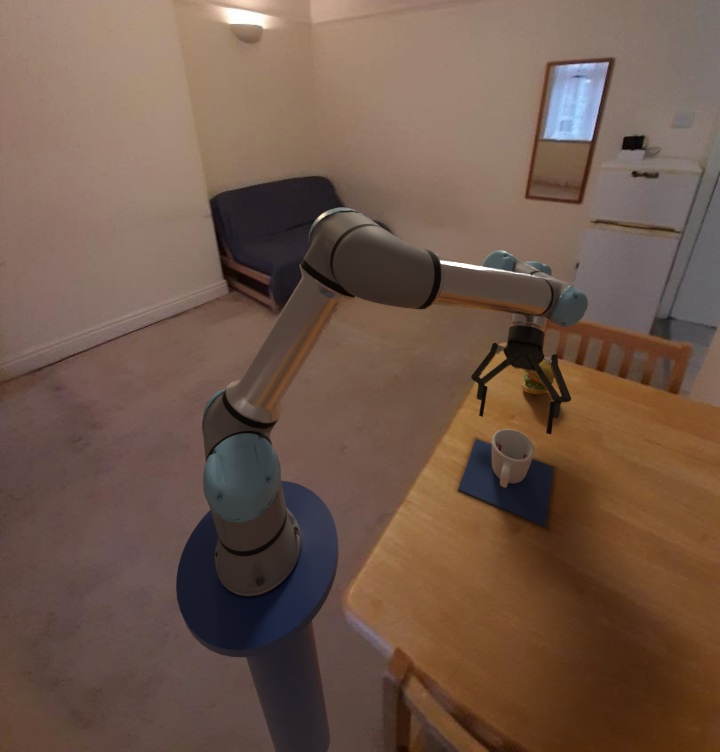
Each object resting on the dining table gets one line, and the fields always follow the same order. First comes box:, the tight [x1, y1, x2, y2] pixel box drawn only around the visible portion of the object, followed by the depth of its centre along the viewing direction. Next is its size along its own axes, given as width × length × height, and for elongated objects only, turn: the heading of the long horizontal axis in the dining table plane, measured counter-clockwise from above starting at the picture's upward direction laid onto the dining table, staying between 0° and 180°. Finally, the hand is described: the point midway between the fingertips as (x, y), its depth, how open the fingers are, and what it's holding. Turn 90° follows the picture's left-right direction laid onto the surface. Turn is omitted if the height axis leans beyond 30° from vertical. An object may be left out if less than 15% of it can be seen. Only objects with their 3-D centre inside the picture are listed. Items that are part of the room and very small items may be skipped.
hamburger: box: [521, 360, 555, 395], centre depth 101 cm, size 8×7×12 cm
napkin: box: [457, 438, 554, 528], centre depth 82 cm, size 16×14×1 cm
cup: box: [491, 428, 536, 488], centre depth 80 cm, size 11×8×8 cm
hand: (513, 425), depth 86 cm, fingers open, 13 cm apart
